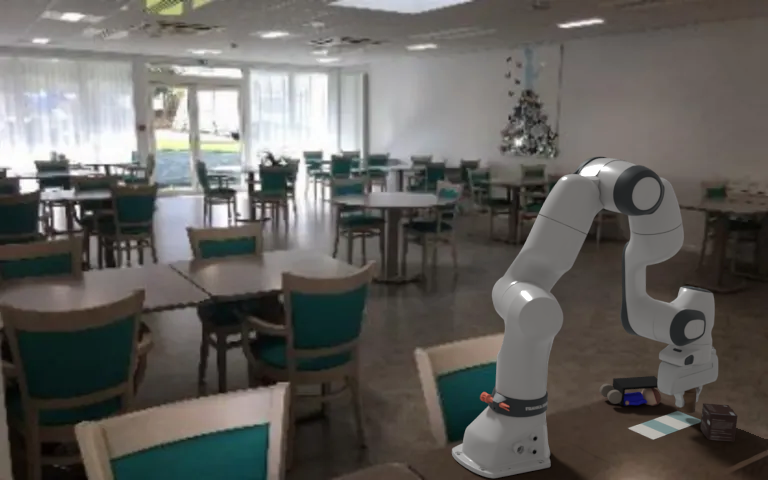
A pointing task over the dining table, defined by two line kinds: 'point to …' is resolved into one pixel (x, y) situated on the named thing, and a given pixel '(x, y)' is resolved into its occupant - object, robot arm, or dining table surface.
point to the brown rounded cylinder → (689, 401)
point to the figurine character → (646, 396)
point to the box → (718, 422)
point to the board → (665, 425)
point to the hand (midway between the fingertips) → (686, 403)
